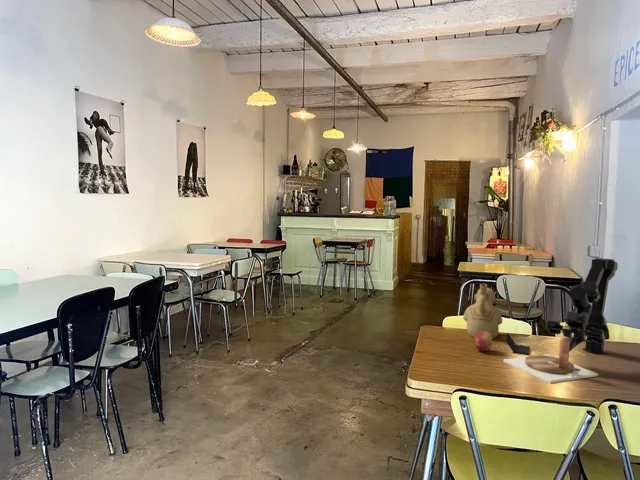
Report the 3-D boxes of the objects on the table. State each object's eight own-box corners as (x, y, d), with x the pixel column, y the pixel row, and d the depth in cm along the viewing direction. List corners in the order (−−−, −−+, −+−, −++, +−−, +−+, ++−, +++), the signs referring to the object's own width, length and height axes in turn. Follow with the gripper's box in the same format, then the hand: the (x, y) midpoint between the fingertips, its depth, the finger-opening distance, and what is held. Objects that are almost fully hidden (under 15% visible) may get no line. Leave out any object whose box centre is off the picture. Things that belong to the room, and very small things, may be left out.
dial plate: (547, 356, 182) (547, 352, 182) (597, 375, 161) (598, 372, 161) (503, 361, 175) (503, 358, 174) (549, 383, 154) (550, 379, 154)
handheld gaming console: (534, 352, 182) (518, 330, 184) (518, 361, 183) (503, 340, 186) (530, 347, 193) (515, 327, 195) (515, 356, 194) (501, 336, 197)
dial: (515, 360, 172) (517, 329, 171) (546, 356, 178) (548, 325, 177) (551, 375, 158) (553, 341, 157) (584, 370, 164) (586, 337, 163)
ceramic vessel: (502, 332, 215) (505, 280, 213) (500, 343, 198) (503, 286, 196) (465, 327, 222) (467, 276, 220) (459, 338, 205) (461, 282, 203)
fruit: (486, 355, 182) (487, 335, 181) (469, 350, 187) (469, 331, 187) (496, 351, 187) (497, 332, 186) (478, 346, 193) (479, 328, 192)
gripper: (549, 298, 174) (536, 332, 167) (605, 307, 161) (593, 344, 154) (555, 315, 180) (543, 348, 173) (609, 325, 167) (598, 361, 160)
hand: (568, 350), depth 165 cm, fingers closed
